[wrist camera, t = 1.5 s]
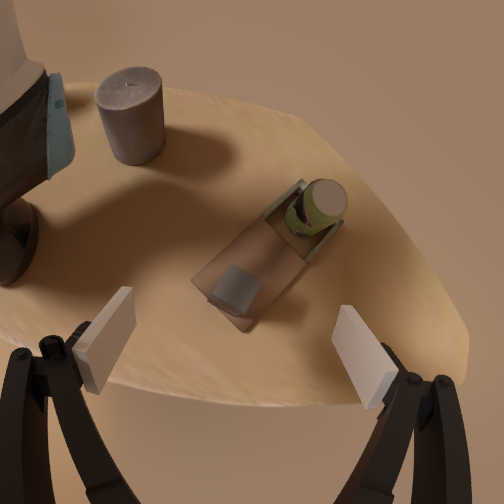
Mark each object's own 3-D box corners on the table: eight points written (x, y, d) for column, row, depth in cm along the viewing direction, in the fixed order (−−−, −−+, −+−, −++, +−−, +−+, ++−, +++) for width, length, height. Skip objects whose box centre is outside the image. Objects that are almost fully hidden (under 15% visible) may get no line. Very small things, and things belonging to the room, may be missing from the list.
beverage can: (320, 213, 45) (358, 179, 34) (310, 251, 42) (351, 225, 31) (287, 198, 44) (317, 158, 33) (274, 236, 42) (305, 203, 30)
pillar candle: (161, 118, 43) (158, 54, 29) (170, 158, 41) (166, 91, 27) (110, 131, 40) (93, 69, 26) (113, 173, 39) (89, 111, 24)
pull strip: (188, 283, 37) (188, 269, 28) (297, 184, 45) (320, 153, 36) (239, 334, 36) (255, 336, 28) (338, 225, 45) (369, 203, 36)
